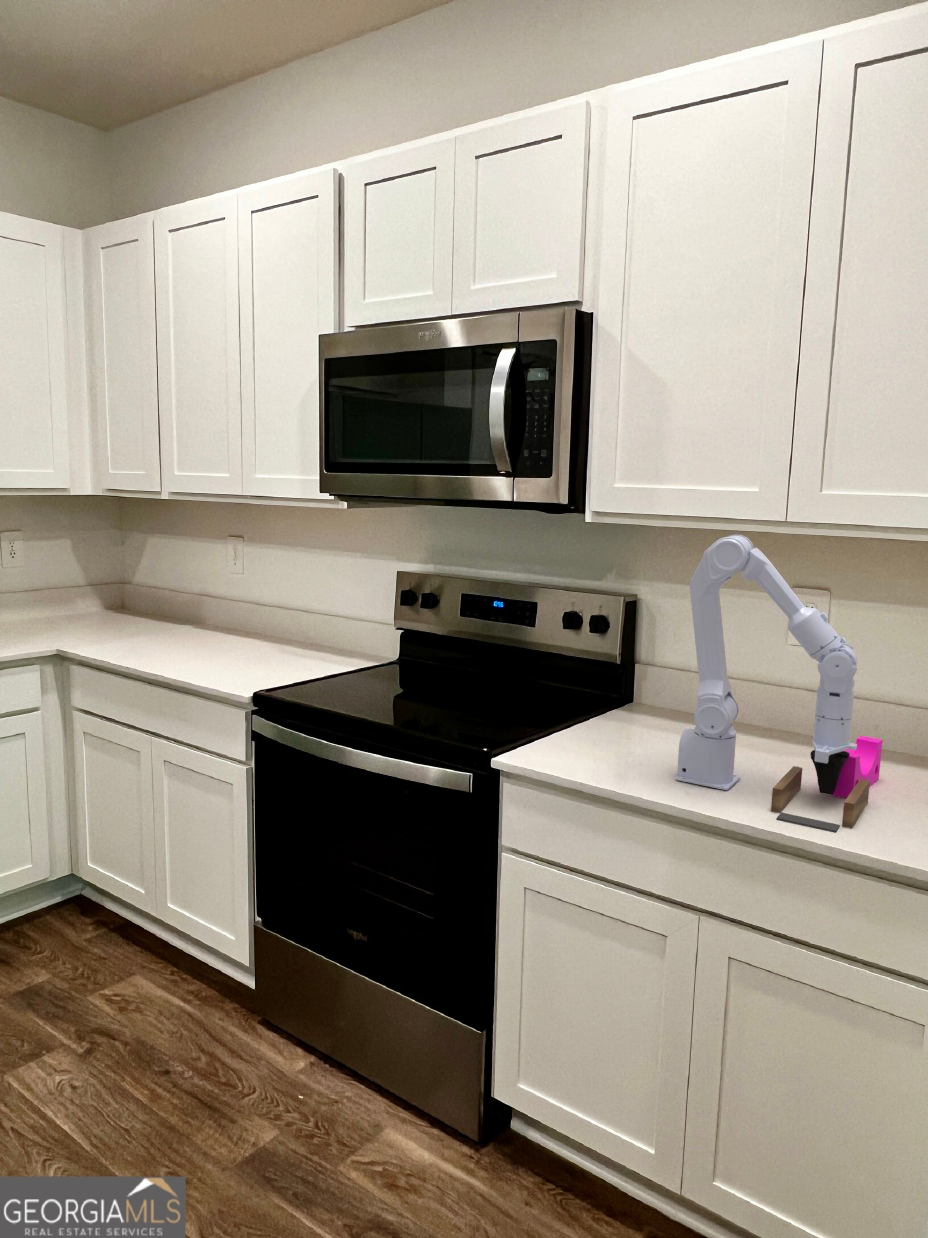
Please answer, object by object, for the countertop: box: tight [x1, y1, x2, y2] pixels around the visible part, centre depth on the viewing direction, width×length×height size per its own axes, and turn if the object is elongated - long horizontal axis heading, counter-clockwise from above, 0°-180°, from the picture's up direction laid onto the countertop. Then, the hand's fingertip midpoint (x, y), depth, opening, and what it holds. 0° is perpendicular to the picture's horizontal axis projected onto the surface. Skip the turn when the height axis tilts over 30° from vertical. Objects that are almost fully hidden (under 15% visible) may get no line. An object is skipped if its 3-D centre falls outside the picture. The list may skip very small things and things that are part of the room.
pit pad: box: [776, 811, 841, 833], centre depth 143 cm, size 9×3×1 cm, turn 57°
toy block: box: [831, 735, 883, 800], centre depth 161 cm, size 15×6×8 cm, turn 140°
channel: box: [770, 765, 871, 829], centre depth 150 cm, size 12×14×4 cm
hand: (826, 793), depth 154 cm, fingers closed
